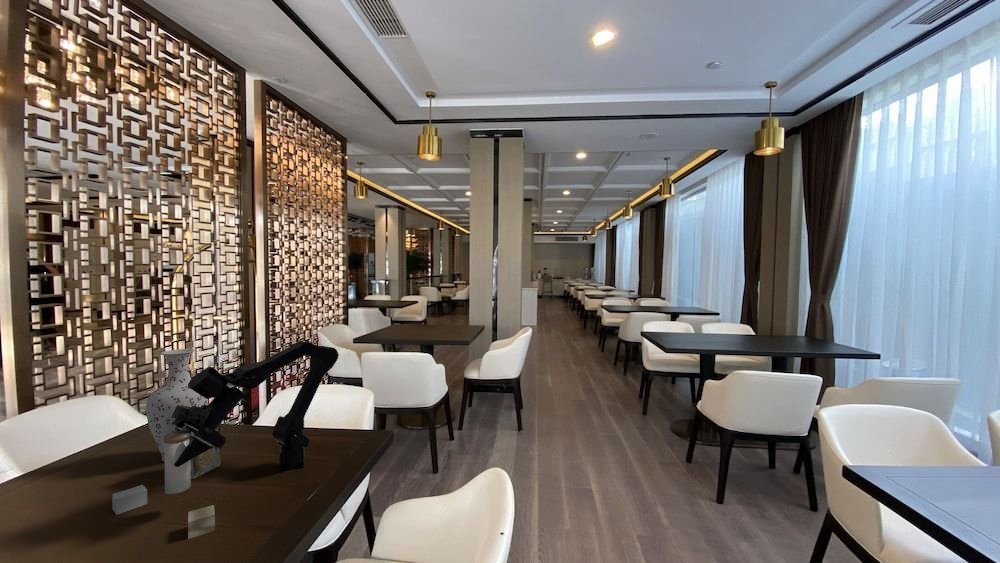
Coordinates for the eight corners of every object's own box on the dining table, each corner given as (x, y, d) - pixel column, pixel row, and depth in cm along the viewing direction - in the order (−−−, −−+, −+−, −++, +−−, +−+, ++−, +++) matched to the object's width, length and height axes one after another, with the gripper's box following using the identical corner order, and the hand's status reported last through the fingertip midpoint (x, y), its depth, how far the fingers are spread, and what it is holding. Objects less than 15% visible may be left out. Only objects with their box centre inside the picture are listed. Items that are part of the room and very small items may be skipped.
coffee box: (205, 463, 129) (204, 413, 129) (221, 465, 128) (221, 415, 127) (176, 477, 120) (175, 423, 120) (193, 479, 119) (193, 425, 118)
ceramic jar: (193, 481, 107) (193, 428, 106) (188, 491, 102) (187, 436, 101) (168, 485, 104) (167, 432, 104) (161, 496, 99) (160, 440, 99)
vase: (144, 472, 123) (144, 358, 122) (147, 454, 135) (147, 350, 135) (210, 458, 133) (209, 352, 132) (207, 441, 145) (206, 345, 145)
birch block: (214, 520, 100) (213, 504, 100) (214, 531, 96) (214, 514, 96) (188, 528, 97) (188, 511, 96) (188, 539, 93) (188, 522, 93)
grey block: (142, 499, 109) (142, 484, 109) (147, 504, 106) (147, 489, 106) (112, 509, 104) (112, 494, 104) (116, 515, 101) (116, 499, 101)
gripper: (180, 386, 111) (128, 440, 102) (211, 398, 101) (156, 459, 92) (213, 407, 118) (167, 459, 109) (245, 420, 108) (197, 478, 99)
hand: (171, 463), depth 102 cm, fingers closed on ceramic jar, 5 cm apart
